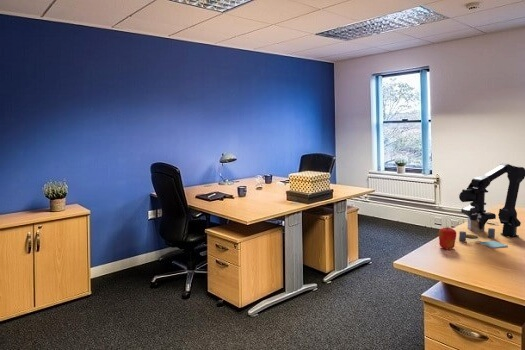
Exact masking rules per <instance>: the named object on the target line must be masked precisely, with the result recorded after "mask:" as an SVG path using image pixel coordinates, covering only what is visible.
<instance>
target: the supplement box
mask: <svg viewBox="0 0 525 350" xmlns="http://www.w3.org/2000/svg"><path fill="white" fill-rule="evenodd" d="M484 213H486V212H484ZM479 214H480V213H479ZM480 217H481V216H480V215H478V217H477V219H478V218H480ZM485 225H486V224H485ZM485 225H484V231H485V230H486V229H485V227H486V226H485ZM467 229H468V230H470V231H471V220H470V218H469V217H468V216H467Z"/></svg>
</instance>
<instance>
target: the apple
mask: <svg viewBox="0 0 525 350" xmlns="http://www.w3.org/2000/svg"><path fill="white" fill-rule="evenodd" d="M437 234H438V243H439V246H440V247H441V249H444V250H453V249H454V247H456V238H457V231H456V229H453V227H452V228H451V227H449V226H447V227H443V228H440V229H439V230H438V233H437Z"/></svg>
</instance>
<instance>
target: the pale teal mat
mask: <svg viewBox="0 0 525 350" xmlns="http://www.w3.org/2000/svg"><path fill="white" fill-rule="evenodd" d="M478 244H480V245H483V246H486V247H488V248H491V249H499V248H508V244H504V243H501V242H499V241H495V240H489V241H479V243H478Z"/></svg>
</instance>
